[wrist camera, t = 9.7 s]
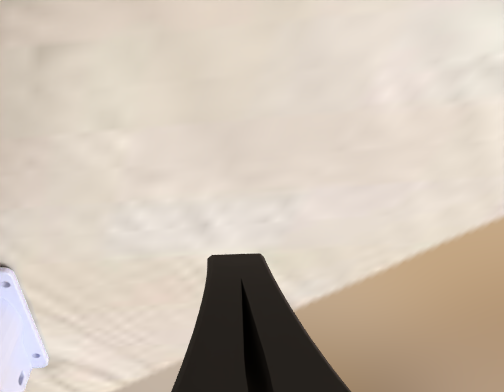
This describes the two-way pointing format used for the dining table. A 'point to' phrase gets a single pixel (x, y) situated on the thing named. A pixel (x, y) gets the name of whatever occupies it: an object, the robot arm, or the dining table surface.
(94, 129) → the dining table surface
